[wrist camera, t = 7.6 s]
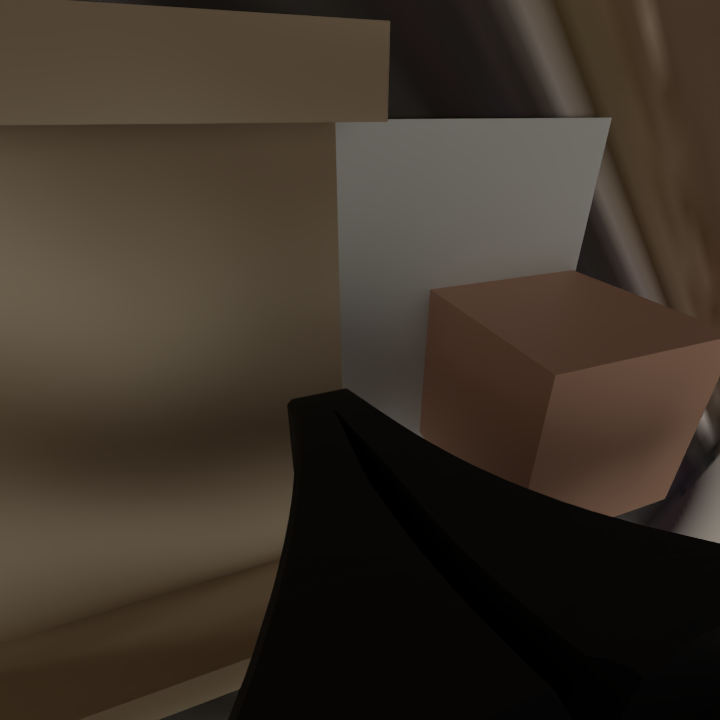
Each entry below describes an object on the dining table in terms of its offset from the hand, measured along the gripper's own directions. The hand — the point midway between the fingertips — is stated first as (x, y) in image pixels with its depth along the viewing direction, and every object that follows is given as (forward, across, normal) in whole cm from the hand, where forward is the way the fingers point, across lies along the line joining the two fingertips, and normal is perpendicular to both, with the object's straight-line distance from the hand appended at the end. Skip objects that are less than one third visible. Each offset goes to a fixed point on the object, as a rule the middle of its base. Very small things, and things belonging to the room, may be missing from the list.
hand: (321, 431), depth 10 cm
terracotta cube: (+2, -6, 0) cm, 6 cm away
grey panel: (+2, -5, 0) cm, 5 cm away
